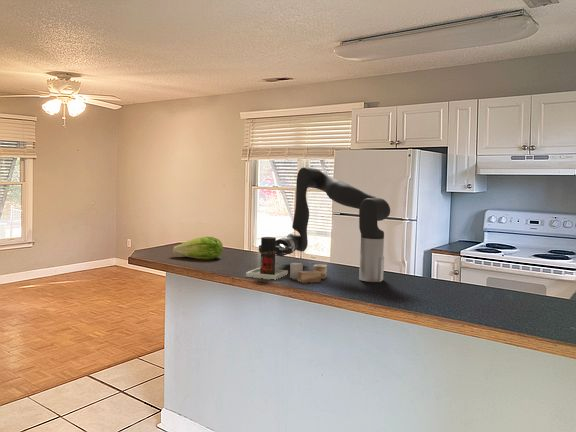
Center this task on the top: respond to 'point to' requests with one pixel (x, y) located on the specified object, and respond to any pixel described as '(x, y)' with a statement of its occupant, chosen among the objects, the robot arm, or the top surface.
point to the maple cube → (321, 270)
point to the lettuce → (200, 248)
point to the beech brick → (309, 276)
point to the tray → (256, 274)
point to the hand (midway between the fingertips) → (269, 251)
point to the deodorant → (268, 255)
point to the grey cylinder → (295, 269)
